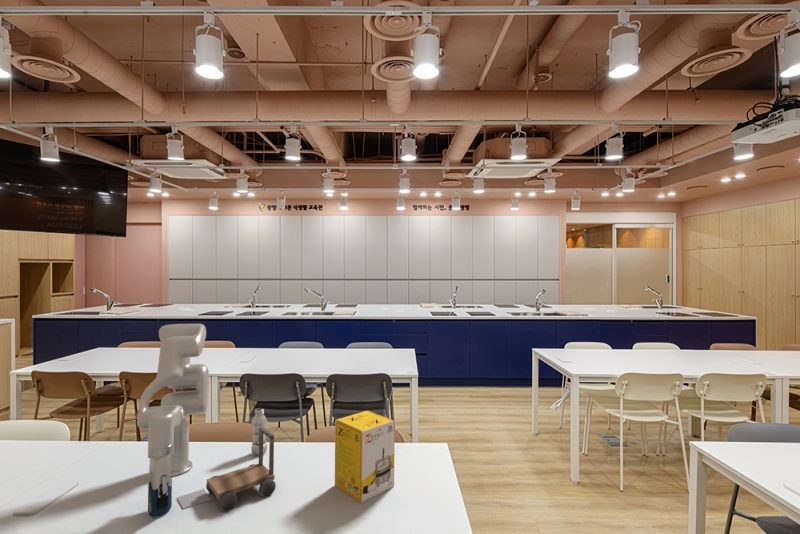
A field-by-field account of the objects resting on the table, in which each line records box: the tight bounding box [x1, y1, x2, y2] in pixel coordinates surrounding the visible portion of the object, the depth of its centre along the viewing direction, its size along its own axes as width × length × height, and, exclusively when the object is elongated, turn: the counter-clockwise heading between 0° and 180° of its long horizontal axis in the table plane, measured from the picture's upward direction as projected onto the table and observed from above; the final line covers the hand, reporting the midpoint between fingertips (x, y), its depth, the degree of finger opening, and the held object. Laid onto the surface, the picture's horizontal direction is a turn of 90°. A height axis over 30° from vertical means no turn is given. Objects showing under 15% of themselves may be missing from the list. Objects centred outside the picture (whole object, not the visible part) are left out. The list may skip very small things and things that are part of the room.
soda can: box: [147, 476, 173, 518], centre depth 136 cm, size 7×7×12 cm
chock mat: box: [176, 488, 212, 510], centre depth 144 cm, size 9×9×1 cm
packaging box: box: [334, 410, 396, 503], centre depth 154 cm, size 16×16×25 cm
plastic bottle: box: [250, 407, 268, 456], centre depth 181 cm, size 6×7×20 cm
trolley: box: [205, 427, 277, 512], centre depth 148 cm, size 20×16×21 cm
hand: (159, 502), depth 136 cm, fingers closed on soda can, 6 cm apart
